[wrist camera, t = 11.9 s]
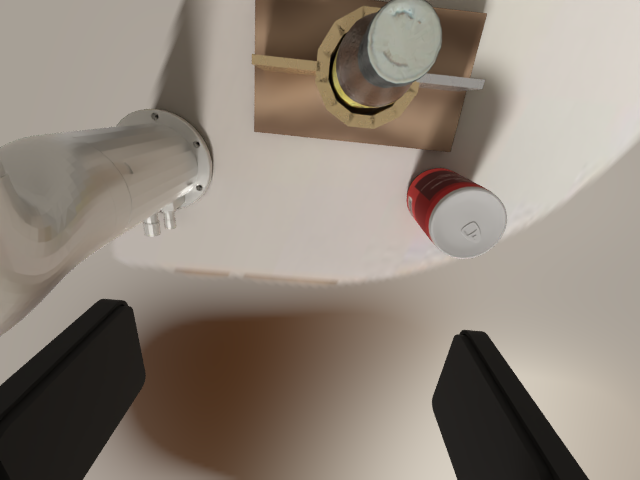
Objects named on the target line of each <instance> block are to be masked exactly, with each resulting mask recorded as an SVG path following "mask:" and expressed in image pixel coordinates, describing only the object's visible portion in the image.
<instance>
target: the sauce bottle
mask: <svg viewBox="0 0 640 480" xmlns="http://www.w3.org/2000/svg"><path fill="white" fill-rule="evenodd" d="M441 46H442V28H441V24H440V19H439V17H438V15H437V13H436V11H435V9H434V8H433V7H432V6H431V5H430V4H429V3H428V2H427V1H425V0H391V1H389V2H388V3H387V4H385V5H384V6H383V7H382V8H381V9H380V10H379V11H378V12H376V13H371V14H369V15H366V16H364V17H362V18H361V19H359V20H358V21H356V22H355V24H354V25H353V26H352V27H351V28H350V30H349V31H348V32H347V34H346V35H345V37H344V38H343V40H342V42H341V44H340V46H339V49H338V52H337V54H336V57H335V60H334V63H333V66H332V71H331V82H332V86H333V89H334V91H335V93H336V95H337V97H338V98H339V99H340V100H341V101H342V102H343V103H344V104H346V105H348V106H350V107H353V108H376V107H382V106H386V105H389V104H392V103H394V102H395V101H397V100H399V99H400V98H401V97H402V96H403V95H404V94H405V93H406V92H407V91H408V89H409V88H410V86H411V85H412V83H413V82H415V81H417V80H419V79H420V78H421V77H423V76H424V75H425V74H426V73H427V72H428V71H429V70H430V69H431V67H432V66H433V64H434V63H435V61H436V58H437V56H438V53H439V51H440V49H441Z"/></svg>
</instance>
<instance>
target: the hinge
mask: <svg viewBox="0 0 640 480" xmlns="http://www.w3.org/2000/svg"><path fill="white" fill-rule="evenodd" d="M380 9H381V8H377V7H368V6H362V7H360V8H358V9H357V10H355V11H353V12H351V13H349V14H347V15H346V16H344V17H342V18H340V19H338V20H336V21H335V22H334V24H333V26H332V27H331V29H330V30H329V32H328V34H327V35H326V37H325V39H324V40H323V42H322V44H321V45H320V47H319V49H318V54H317V61H310V60H301V59H292V58H283V57H274V56H265V55H256V54H252V64H253V65H255V66H257V67H258V68H260V69H262V70H265V71H274V72H283V73H292V74H301V75H310V76H316V78H315V83H316V85H317V88H318V90H319V93H320V95H321V97H322V100H323V102H324V105H325V107H326V109H327V110H328V111H329V112H330V113H332V114H333V115H334V116H335V117H337V118H338V119H339V120H340V121H342V122H343V123H344V124H346V125H347V126H350V127H360V128H369V129H375V128H377V127H379V126H381V125H384V124H386V123H388V122H390V121H392V120H394V119H396V118H399V117H400V115H401V114H402V113H403V112H404V110H405V109H406V108H407V106H408V105H409V104H410V102H411V101H412V100H413V98H414V97H415V96H416V95H417V93H418V89H419V87H420V88H429V89H439V90H448V91H457V92H458V91H469V90H479V89H483V85H484V82H485V80H482V79H473V78H464V77H455V76H446V75H437V74H428V73H426V74H425V75H424V76H423V77H421V78H420V79H419V80H417V81H415V82H413V83H412V85H411V86H410V88H409V89H408V91H407V92H406V93H405V94H404V95H403V96H402V97H401V98H400V99H399V100H397V101H395V102H394V103H392V104H389V105H386V106H382V107H379V108H377V109H375V110H373V111H371V112H369V113H367V114H360V113H351V112H350V111H349V110H347V109H346V108H345V107H344V106H342V105H341V104H340V103H339V102H337V101H336V99H335V96H334V93H333V91H332V88H331V86H330V83H329V81H328V75H329V65H330V62H331V60H332V59H333V57H334V55H335V54H336V52H337V51H338V49H339V46H340V44H341V42H342V40H343V38H344V37H345V35H346V34H347V32H348V31H349V30H350V28H351V27H352V26H353V25H354V24H355V22H356V21H358V20H359V19H361V18H362V17H364V16H366V15H369V14H371V13H376V12H378V11H379V10H380Z"/></svg>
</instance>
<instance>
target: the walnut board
mask: <svg viewBox="0 0 640 480" xmlns="http://www.w3.org/2000/svg"><path fill="white" fill-rule="evenodd" d="M387 3H388V2H383V1H375V0H255V54H256V55H265V56H274V57H283V58H292V59H301V60H310V61H317V54H318V49H319V47H320V45H321V44H322V42H323V40H324V39H325V37H326V35H327V34H328V32H329V30H330V29H331V27H332V26H333V24H334V22H335V21H336V20H338V19H340V18H342V17H344V16H346V15H347V14H349V13H351V12H353V11H355V10H357V9H358V8H360V7H362V6H368V7H377V8H382V7H383V6H384V5H385V4H387ZM433 8H434V9H435V11H436V13H437V15H438V17H439V19H440V24H441V28H442V46H441V49H440V51H439V53H438V56H437V58H436V61H435V63H434V64H433V66H432V67H431V69H430V70H429V71H428V72H427V73H428V74H437V75H446V76H455V77H464V78H470V76H471V72H472V68H473V65H474V61H475V57H476V53H477V50H478V46H479V42H480V38H481V35H482V31H483V27H484V23H485V20H486V16H487V13H478V12H470V11H461V10H452V9H444V8H435V7H433ZM337 52H338V51H337ZM337 52H336V54H337ZM336 54H335V55H334V57H333V59H332V60H331V62H330V65H329V75H328V81H329V83H330V86H331V88H332V91H333V93H334V96H335V99H336V101H337V102H339V103H340V104H341V105H342V106H344V107H345V108H346V109H347V110H349V111H350V112H351V113H360V114H367V113H369V112H371V111H373V110H375V109H377V108H379V107H376V108H353V107H350V106H348V105H346V104H344V103H343V102H342V101H341V100H340V99H339V98H338V97H337V95H336V93H335V91H334V89H333V86H332V82H331V71H332V66H333V63H334V60H335V57H336ZM315 78H316V76H310V75H301V74H292V73H283V72H274V71H265V70H262V69H260V68H258V67H257V66H255V116H254V132H262V133H272V134H282V135H291V136H301V137H310V138H320V139H330V140H339V141H349V142H358V143H368V144H378V145H387V146H397V147H406V148H416V149H425V150H435V151H445V152H450V151H451V147H452V144H453V140H454V136H455V132H456V129H457V125H458V121H459V117H460V114H461V110H462V106H463V102H464V99H465V95H466V91H458V92H457V91H448V90H439V89H429V88H420V87H419V89H418V93H417V95H416V96H415V97H414V98H413V100H412V101H411V102H410V104H409V105H408V106H407V108H406V109H405V110H404V112H403V113H402V114H401V115H400V117H399V118H396V119H394V120H392V121H390V122H388V123H386V124H384V125H381V126H379V127H377V128H375V129H369V128H360V127H350V126H347V125H346V124H344V123H343V122H342V121H340V120H339V119H338V118H337V117H335V116H334V115H333V114H332V113H330V112H329V111H328V110H327V109H326V107H325V105H324V102H323V100H322V97H321V95H320V93H319V90H318V88H317V85H316V83H315Z"/></svg>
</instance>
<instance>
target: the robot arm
mask: <svg viewBox="0 0 640 480" xmlns="http://www.w3.org/2000/svg"><path fill="white" fill-rule="evenodd" d="M157 114H158V117H159V118H157ZM197 142H199V143H200V146H199V145H198V144H197ZM211 177H212V160H211V156H210V152H209V150H208V147H207V145H206V143H205V141H204V140H203V138H202V137H201V135H200V134H199V133H198V131H197V130H196V129H195V128H194V127H193V126H192V125H191V124H190V123H188V122H187V121H186V120H185V119H183V118H181V117H179V116H178V115H176V114H173V113H171V112H168V111H165V110H158V109H145V110H139V111H135V112H133V113H131V114H129V115H127V116H126V117H125V118H123V119H122V120H121V121H120V122H119V123H118V125H117V126H116V127H109V128H100V129H92V130H82V131H74V132H64V133H55V134H45V135H36V136H30V137H25V138H22V139H18V140H15V141H13V142H10V143H8V144H5V145H4V146H2V147H0V336H2V335H3V334H4V333H6V332H7V331H9V330H10V329H11V328H12V327H14V326H15V325H16V324H17V323H19V322H20V321H21V320H23V319H24V318H25V317H26V316H27V315H28V314H29V313H30V312H31V311H32V310H33V309H34V308H35V307H37V306H38V304H39V303H40V302H42V300H43V299H44V298H45V297H46V296H47V295H48V294H49V293H50V292H51V291H52V290H53V289H54V287H55V286H56V285H57V284H58V283H59V282H60V281H61V280H62V279H63V278H64V277H65V276H66V275H67V274H68V273H69V272H70V271H71V270H72V269H74V267H76V266H77V265H78V264H80V263H81V262H82V261H84V260H85V259H86V258H87V257H89V256H90V255H92V254H93V253H94V252H96V251H97V250H99V249H100V248H102V247H103V246H105V245H106V244H108V243H109V242H111V241H113V240H114V239H116V238H118V237H119V236H121V235H122V234H124V233H125V232H127V231H129V230H130V229H132V228H133V227H135V226H136V225H138V224H140V223H141V222H143V226H144V233H145V235H146V236H150V237H151V236H158V235H160V233H161V231H160V223H159V220H158V214H157V213H159V212H160V210H161V212H164V225H165V228H166V229H174V228H176V220H175V215H174V212H175V211H176V209H181V208H185V207H187V206H189V205H192V204H193V203H195V202H196V201H197V200H199V199H200V198H201V197H202V196H203V195H204V193H205V192H206V190H207V189H208V187H209V184H210V181H211ZM200 185H201V186H202V187H203V188H201V187H200ZM145 376H146V375H145V369H144V364H143V358H142V353H141V348H140V343H139V338H138V333H137V328H136V323H135V317H134V313H133V309H132V308H131V307H129V306H128V304H127V303H126V302H125V301H122V300H111V299H101V300H99V301H98V302H96V303H95V304H94V305H93V306H92V307H91V308H89V309H88V310H87V311H86V312H85V313H84V314H82V315H81V316H80V317H79V318H78V319H77V320H75V322H73V323H72V324H71V325H70V326H69V327H68V328H66V329H65V330H64V331H63V332H62V333H61V334H59V335H58V336H57V337H56V338H55V339H54V340H52V341H51V342H50V343H49V344H48V345H47V346H45V347H44V348H43V349H42V350H41V351H40V352H39V353H37V354H36V355H35V356H34V357H33V358H32V359H31V360H29V361H28V362H27V363H26V364H25V365H24V366H23V367H21V368H20V369H19V370H18V371H17V372H16V373H14V374H13V375H12V376H11V377H10V378H9V379H7V380H6V381H5V382H4V383H3V384H2V385H1V386H0V480H83V478H84V477H85V475H86V474H87V472H88V471H89V469H90V468H91V466H92V464H93V463H94V461H95V460H96V458H97V457H98V455H99V453H100V452H101V450H102V449H103V447H104V446H105V444H106V443H107V441H108V440H109V438H110V436H111V435H112V433H113V432H114V430H115V429H116V427H117V426H118V424H119V423H120V421H121V420H122V418H123V416H124V415H125V413H126V412H127V410H128V409H129V407H130V406H131V404H132V402H133V401H134V399H135V398H136V396H137V395H138V393H139V392H140V390H141V389H142V386H143V384H144V382H145ZM432 407H433V411H434V414H435V417H436V420H437V423H438V426H439V428H440V431H441V434H442V437H443V440H444V443H445V446H446V448H447V451H448V454H449V457H450V459H451V462H452V465H453V468H454V471H455V474H456V477H457V480H589V479H588V478H587V476H586V475H585V473H584V472H583V470H582V469H581V467H580V466H579V465H578V463H577V462H576V460H575V459H574V457H573V456H572V455H571V453H570V452H569V450H568V449H567V448H566V446H565V445H564V443H563V442H562V441H561V439H560V438H559V436H558V435H557V434H556V432H555V431H554V429H553V428H552V426H551V425H550V423H549V422H548V420H547V419H546V418H545V416H544V415H543V413H542V412H541V411H540V409H539V408H538V406H537V405H536V403H535V402H534V401H533V399H532V398H531V396H530V395H529V393H528V392H527V391H526V389H525V388H524V386H523V385H522V383H521V382H520V381H519V379H518V378H517V376H516V375H515V373H514V372H513V371H512V369H511V368H510V366H509V365H508V364H507V362H506V361H505V359H504V358H503V356H502V355H501V354H500V352H499V351H498V349H497V348H496V346H495V345H494V344H493V342H492V341H491V339H490V338H489V336H488V335H487V334H486V333H485V332H482V331H470V330H462V331H461V332H460V334H459V335H455V336H454V338H453V341H452V344H451V347H450V350H449V353H448V355H447V358H446V361H445V364H444V367H443V370H442V372H441V375H440V378H439V381H438V384H437V386H436V389H435V392H434V395H433V398H432Z"/></svg>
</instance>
